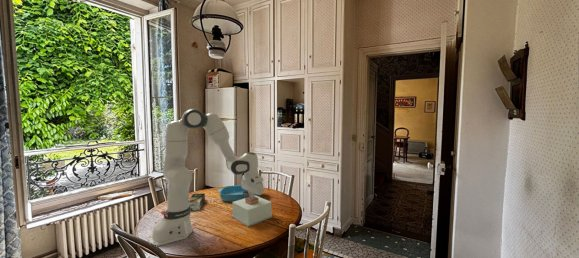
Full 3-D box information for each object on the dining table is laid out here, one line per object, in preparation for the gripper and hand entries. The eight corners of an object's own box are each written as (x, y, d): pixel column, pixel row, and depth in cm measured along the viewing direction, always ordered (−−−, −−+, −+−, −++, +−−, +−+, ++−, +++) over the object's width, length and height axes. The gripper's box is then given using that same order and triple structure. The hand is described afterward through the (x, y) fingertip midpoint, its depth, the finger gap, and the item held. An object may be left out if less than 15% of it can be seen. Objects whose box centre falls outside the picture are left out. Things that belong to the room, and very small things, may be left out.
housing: (248, 226, 139) (247, 210, 139) (231, 217, 153) (231, 202, 152) (272, 216, 152) (272, 202, 152) (255, 208, 166) (255, 194, 165)
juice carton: (200, 210, 164) (200, 202, 164) (185, 211, 162) (185, 203, 162) (205, 200, 184) (205, 192, 183) (192, 201, 182) (192, 193, 182)
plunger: (250, 218, 148) (250, 200, 147) (245, 215, 153) (245, 198, 152) (258, 215, 152) (258, 198, 152) (253, 212, 157) (252, 195, 156)
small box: (259, 203, 176) (259, 189, 176) (257, 206, 170) (257, 192, 169) (245, 202, 178) (245, 189, 177) (243, 206, 171) (242, 192, 170)
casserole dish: (214, 203, 177) (214, 194, 176) (221, 193, 199) (221, 185, 198) (263, 202, 178) (263, 193, 178) (265, 192, 201) (265, 184, 200)
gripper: (238, 175, 156) (239, 195, 157) (256, 181, 141) (257, 203, 142) (246, 173, 160) (247, 193, 161) (265, 179, 146) (265, 200, 147)
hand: (252, 198), depth 152 cm, fingers closed, pressing on plunger
